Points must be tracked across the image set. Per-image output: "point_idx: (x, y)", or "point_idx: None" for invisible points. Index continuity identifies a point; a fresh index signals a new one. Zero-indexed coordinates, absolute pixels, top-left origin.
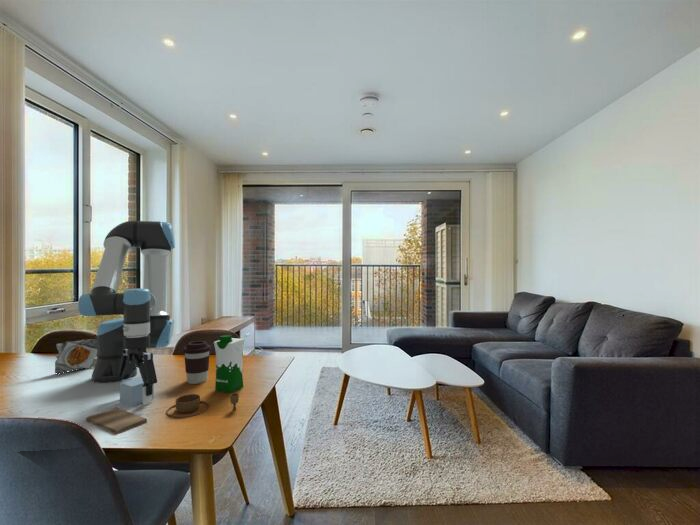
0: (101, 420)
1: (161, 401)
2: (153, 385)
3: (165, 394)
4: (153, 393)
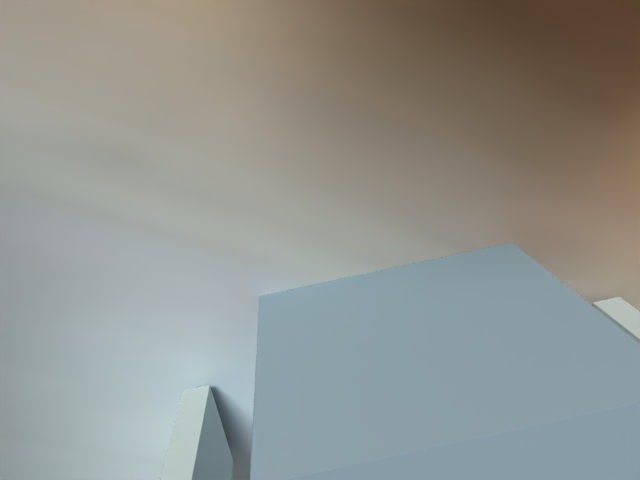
0: None
1: (622, 191)
2: (627, 336)
3: (432, 55)
4: (557, 279)
